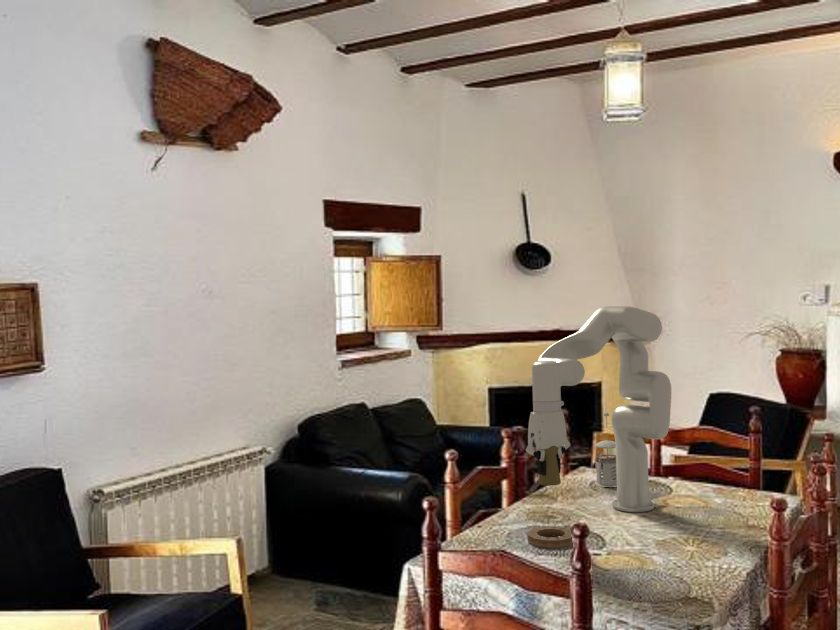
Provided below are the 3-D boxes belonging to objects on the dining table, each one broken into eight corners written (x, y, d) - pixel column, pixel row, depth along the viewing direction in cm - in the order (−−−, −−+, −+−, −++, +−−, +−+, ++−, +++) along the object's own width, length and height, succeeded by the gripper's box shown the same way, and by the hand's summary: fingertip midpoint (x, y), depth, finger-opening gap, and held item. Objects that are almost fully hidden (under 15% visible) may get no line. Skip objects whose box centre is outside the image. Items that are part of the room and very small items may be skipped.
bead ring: (556, 530, 233) (556, 523, 233) (584, 542, 222) (583, 535, 222) (519, 538, 228) (518, 531, 228) (545, 550, 216) (545, 543, 216)
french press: (628, 483, 283) (626, 411, 282) (610, 490, 275) (608, 416, 274) (603, 479, 290) (601, 409, 289) (585, 486, 281) (583, 414, 280)
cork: (560, 485, 221) (559, 445, 220) (537, 485, 222) (536, 445, 221) (561, 480, 227) (559, 440, 226) (539, 480, 228) (537, 440, 227)
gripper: (563, 402, 230) (565, 467, 231) (513, 408, 223) (515, 475, 224) (580, 405, 224) (582, 472, 224) (529, 411, 216) (531, 480, 217)
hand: (549, 472), depth 224 cm, fingers closed on cork, 4 cm apart
